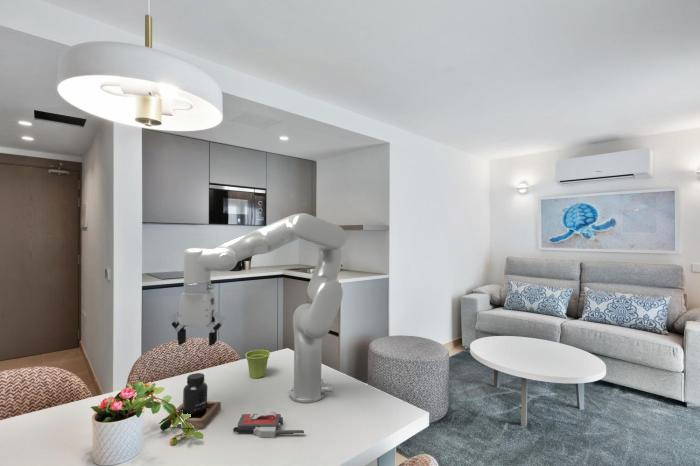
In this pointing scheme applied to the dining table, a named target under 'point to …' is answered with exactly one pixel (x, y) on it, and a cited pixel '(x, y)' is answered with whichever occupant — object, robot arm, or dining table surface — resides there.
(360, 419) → the dining table surface
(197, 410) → the supplement bottle
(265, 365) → the plant pot
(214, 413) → the wooden tray
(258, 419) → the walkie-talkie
